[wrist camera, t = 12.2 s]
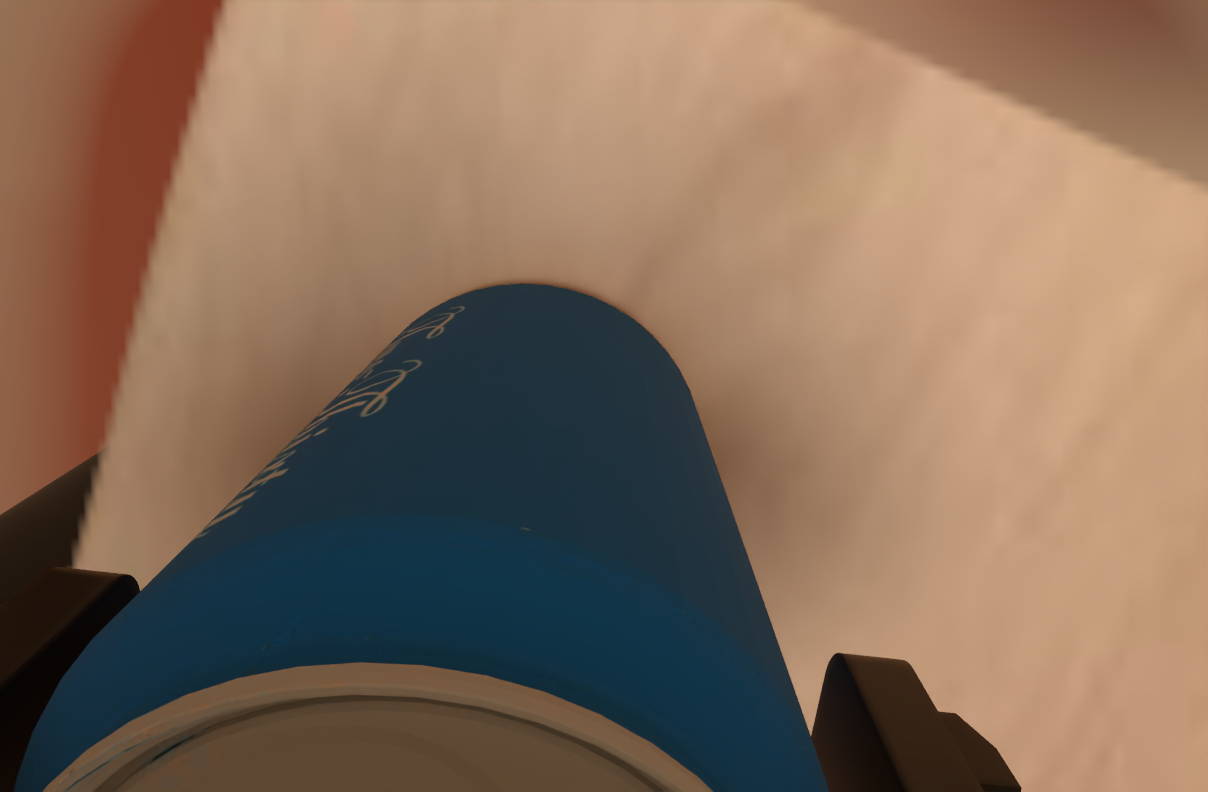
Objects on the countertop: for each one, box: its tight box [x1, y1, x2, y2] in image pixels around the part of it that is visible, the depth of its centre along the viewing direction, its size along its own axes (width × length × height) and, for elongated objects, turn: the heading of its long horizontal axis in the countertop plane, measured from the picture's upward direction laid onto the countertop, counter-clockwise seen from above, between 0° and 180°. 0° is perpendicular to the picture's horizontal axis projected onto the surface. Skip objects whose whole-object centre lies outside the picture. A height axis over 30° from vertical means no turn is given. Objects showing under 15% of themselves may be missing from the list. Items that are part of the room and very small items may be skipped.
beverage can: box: [13, 284, 830, 792], centre depth 11 cm, size 6×6×12 cm
